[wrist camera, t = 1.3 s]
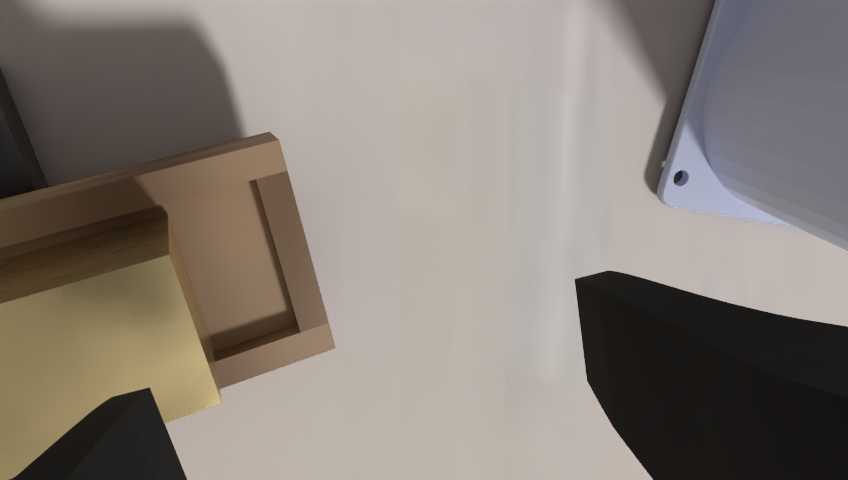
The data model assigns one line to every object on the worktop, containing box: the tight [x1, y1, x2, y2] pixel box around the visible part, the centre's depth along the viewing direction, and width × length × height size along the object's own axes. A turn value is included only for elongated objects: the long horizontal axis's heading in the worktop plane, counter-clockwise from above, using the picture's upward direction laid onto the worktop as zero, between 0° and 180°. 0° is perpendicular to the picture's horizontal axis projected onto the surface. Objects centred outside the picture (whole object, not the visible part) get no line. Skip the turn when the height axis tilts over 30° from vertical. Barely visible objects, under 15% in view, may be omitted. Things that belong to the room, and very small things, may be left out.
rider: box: [0, 214, 222, 480], centre depth 15 cm, size 6×4×4 cm, turn 101°
